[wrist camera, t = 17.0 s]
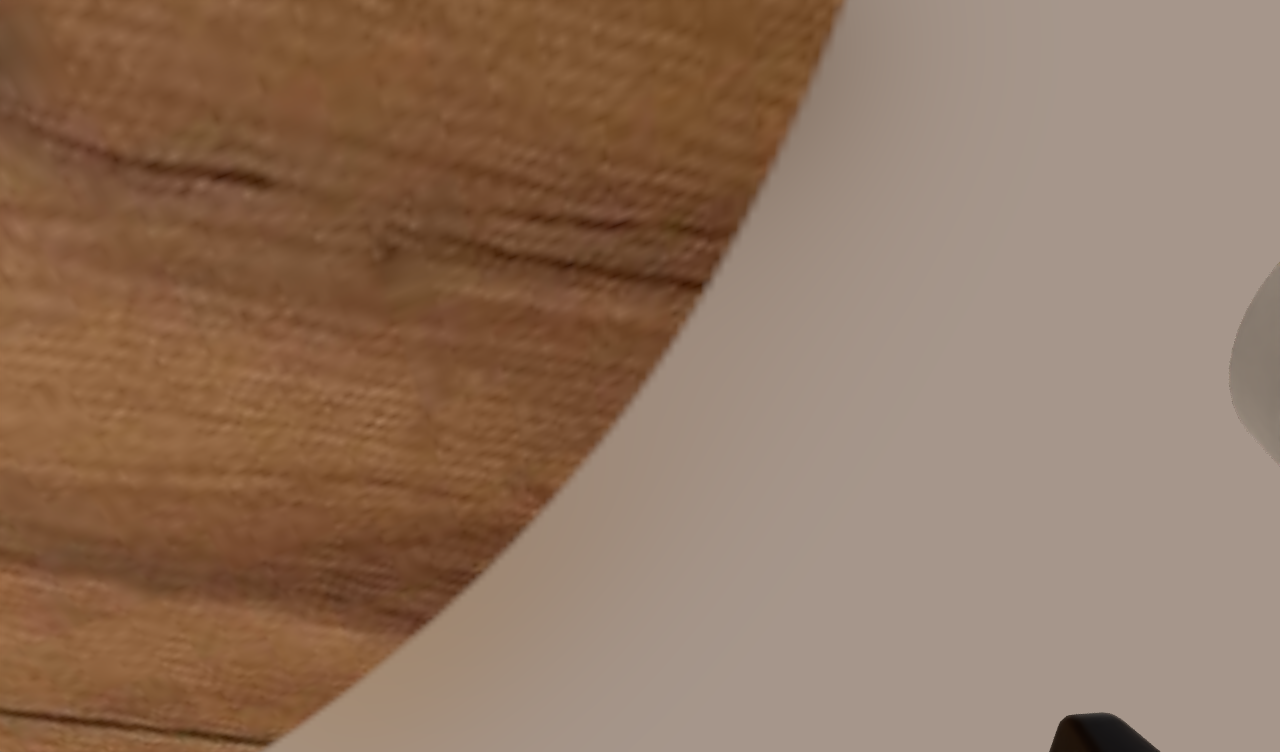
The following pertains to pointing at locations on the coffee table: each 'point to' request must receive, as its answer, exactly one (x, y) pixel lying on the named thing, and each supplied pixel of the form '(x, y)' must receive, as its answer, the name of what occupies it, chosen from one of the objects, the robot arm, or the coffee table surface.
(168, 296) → the coffee table surface
